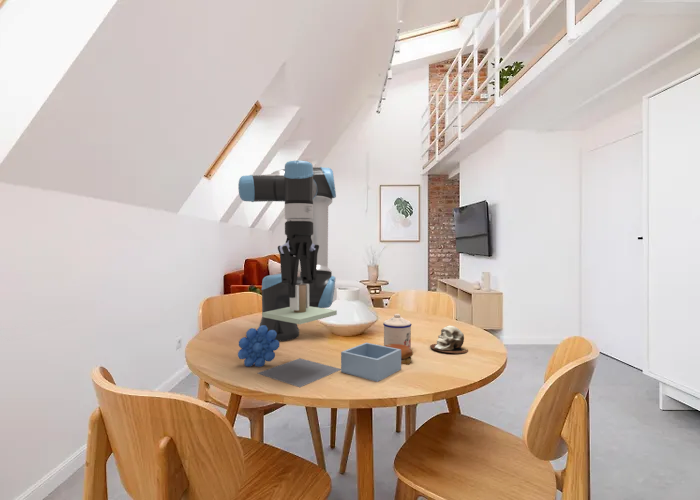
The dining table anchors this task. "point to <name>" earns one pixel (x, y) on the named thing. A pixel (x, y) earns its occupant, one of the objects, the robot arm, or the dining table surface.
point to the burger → (403, 352)
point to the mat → (299, 372)
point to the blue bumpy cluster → (258, 346)
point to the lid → (300, 311)
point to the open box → (371, 361)
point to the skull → (450, 341)
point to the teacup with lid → (397, 331)
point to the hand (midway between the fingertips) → (299, 308)
